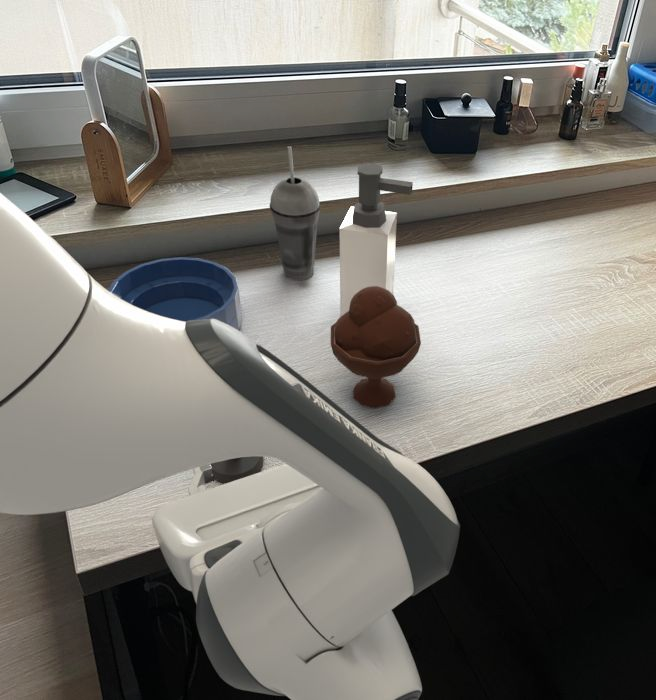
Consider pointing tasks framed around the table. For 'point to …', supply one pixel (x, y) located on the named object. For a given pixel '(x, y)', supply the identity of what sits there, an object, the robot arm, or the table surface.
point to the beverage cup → (296, 224)
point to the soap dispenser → (369, 236)
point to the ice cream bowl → (375, 343)
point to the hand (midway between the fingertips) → (249, 448)
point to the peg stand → (236, 468)
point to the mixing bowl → (182, 290)
